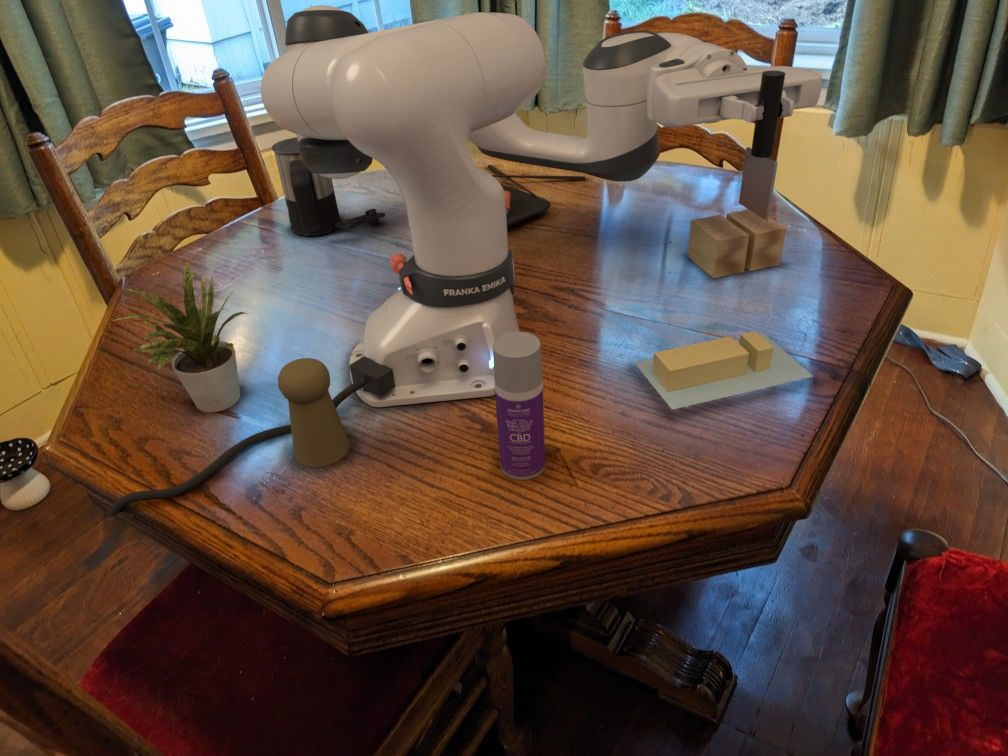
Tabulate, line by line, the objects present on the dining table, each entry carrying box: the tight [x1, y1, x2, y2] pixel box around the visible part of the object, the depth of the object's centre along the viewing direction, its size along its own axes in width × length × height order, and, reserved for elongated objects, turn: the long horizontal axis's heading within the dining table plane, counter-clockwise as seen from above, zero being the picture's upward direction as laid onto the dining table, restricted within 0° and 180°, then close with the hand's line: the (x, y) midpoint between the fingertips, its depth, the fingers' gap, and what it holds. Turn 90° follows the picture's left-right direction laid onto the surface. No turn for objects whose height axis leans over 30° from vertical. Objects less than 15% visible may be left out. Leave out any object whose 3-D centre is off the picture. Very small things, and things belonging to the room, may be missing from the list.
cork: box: [277, 357, 351, 468], centre depth 77 cm, size 6×6×11 cm
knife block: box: [687, 209, 787, 279], centre depth 109 cm, size 11×8×6 cm
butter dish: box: [633, 333, 814, 410], centre depth 87 cm, size 18×10×1 cm, turn 106°
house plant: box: [111, 261, 251, 413], centre depth 85 cm, size 14×14×16 cm
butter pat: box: [738, 330, 774, 372], centre depth 86 cm, size 2×4×3 cm, turn 16°
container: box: [493, 331, 546, 481], centre depth 72 cm, size 5×5×15 cm
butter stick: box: [653, 335, 749, 392], centre depth 85 cm, size 10×4×3 cm, turn 106°
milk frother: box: [270, 136, 386, 237], centre depth 126 cm, size 14×16×15 cm
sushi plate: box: [487, 164, 586, 227], centre depth 138 cm, size 29×30×4 cm
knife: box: [738, 71, 785, 221], centre depth 84 cm, size 2×6×16 cm, turn 16°
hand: (772, 112), depth 81 cm, fingers closed on knife, 2 cm apart
